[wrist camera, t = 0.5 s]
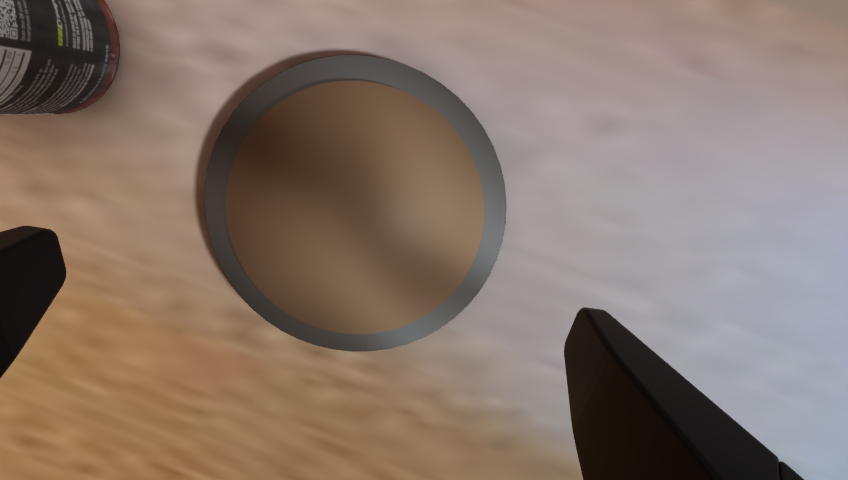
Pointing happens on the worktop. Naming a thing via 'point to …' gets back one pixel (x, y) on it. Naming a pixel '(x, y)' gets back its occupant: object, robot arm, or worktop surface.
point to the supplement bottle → (55, 55)
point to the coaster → (355, 203)
